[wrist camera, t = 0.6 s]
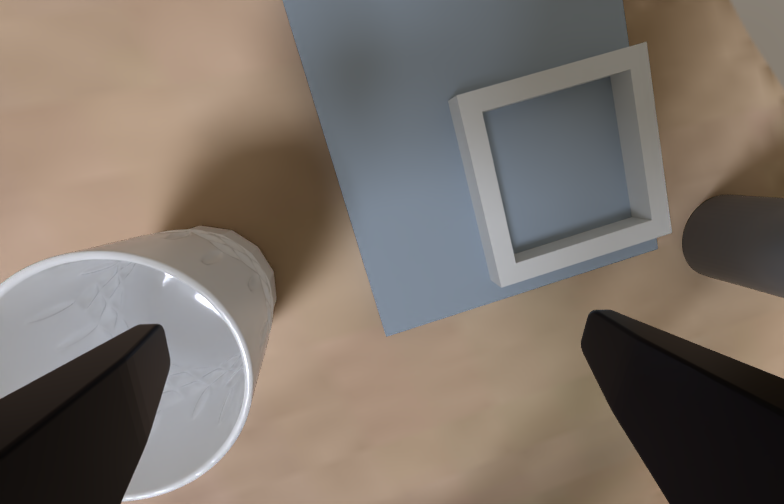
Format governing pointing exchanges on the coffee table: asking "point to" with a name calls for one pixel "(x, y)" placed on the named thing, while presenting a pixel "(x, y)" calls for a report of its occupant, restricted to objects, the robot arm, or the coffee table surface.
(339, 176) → the grey base plate
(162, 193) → the coffee table surface
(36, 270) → the white cup
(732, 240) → the grey tall cup
